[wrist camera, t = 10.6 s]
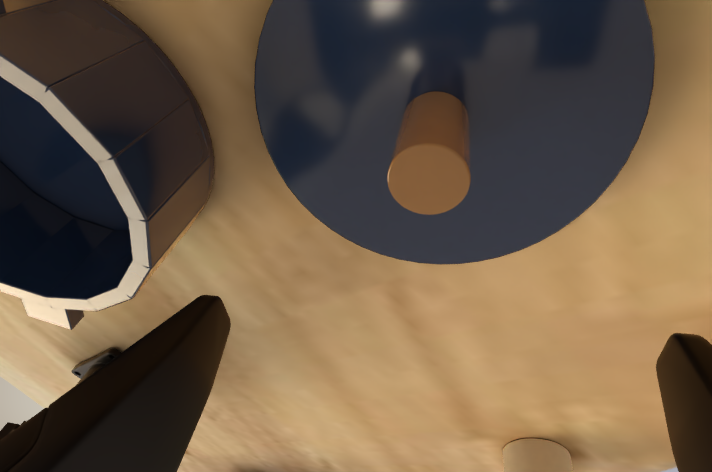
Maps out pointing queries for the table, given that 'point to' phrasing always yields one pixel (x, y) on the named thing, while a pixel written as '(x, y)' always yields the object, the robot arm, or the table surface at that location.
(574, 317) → the table surface
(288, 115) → the lid
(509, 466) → the green cylindrical container
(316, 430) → the table surface
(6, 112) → the pot
